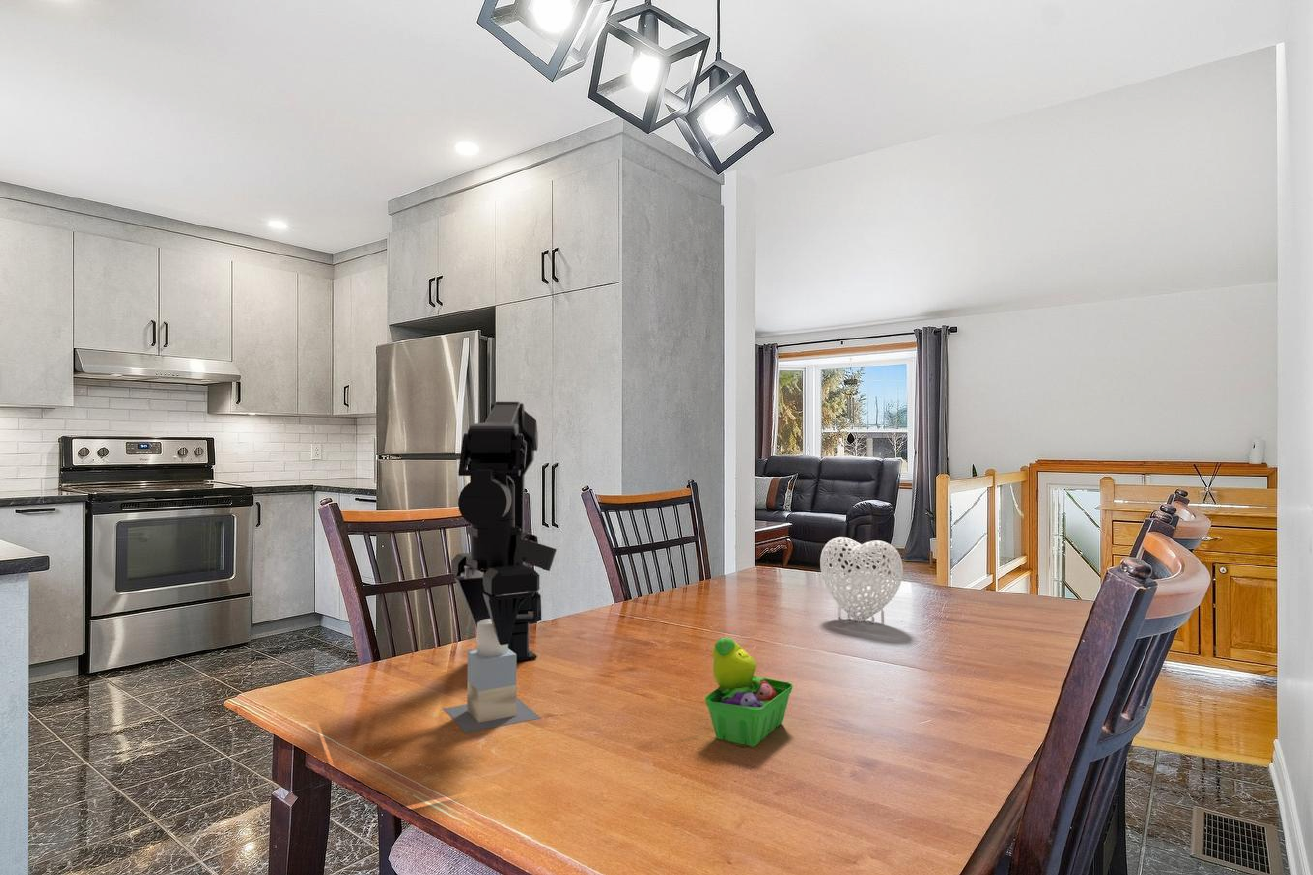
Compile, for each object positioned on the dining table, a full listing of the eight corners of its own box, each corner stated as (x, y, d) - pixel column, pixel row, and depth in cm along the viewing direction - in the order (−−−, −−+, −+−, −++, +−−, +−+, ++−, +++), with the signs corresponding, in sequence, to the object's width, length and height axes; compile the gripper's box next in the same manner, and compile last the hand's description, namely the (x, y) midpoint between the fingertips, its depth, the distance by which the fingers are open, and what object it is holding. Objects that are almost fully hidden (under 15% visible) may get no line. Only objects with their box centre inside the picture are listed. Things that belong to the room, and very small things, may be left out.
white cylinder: (473, 651, 97) (473, 620, 97) (501, 646, 99) (502, 617, 99) (482, 658, 93) (482, 627, 94) (512, 653, 96) (512, 623, 96)
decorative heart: (913, 624, 147) (913, 540, 148) (887, 633, 140) (887, 545, 140) (836, 610, 160) (836, 533, 161) (808, 618, 153) (808, 537, 153)
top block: (467, 680, 97) (467, 650, 97) (503, 674, 99) (503, 645, 100) (479, 691, 93) (479, 659, 93) (516, 684, 95) (516, 654, 95)
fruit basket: (759, 753, 84) (759, 656, 85) (692, 737, 89) (693, 645, 89) (795, 722, 94) (795, 635, 94) (733, 709, 99) (733, 626, 99)
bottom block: (467, 710, 97) (467, 680, 97) (503, 704, 99) (503, 674, 99) (478, 722, 93) (479, 691, 93) (516, 715, 95) (516, 684, 95)
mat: (443, 711, 98) (443, 708, 98) (514, 698, 103) (514, 695, 103) (465, 736, 89) (465, 733, 89) (541, 721, 94) (541, 718, 94)
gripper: (577, 521, 93) (577, 644, 92) (524, 511, 109) (524, 615, 108) (493, 526, 87) (492, 657, 87) (450, 514, 103) (449, 625, 103)
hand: (492, 636), depth 96 cm, fingers open, 9 cm apart
